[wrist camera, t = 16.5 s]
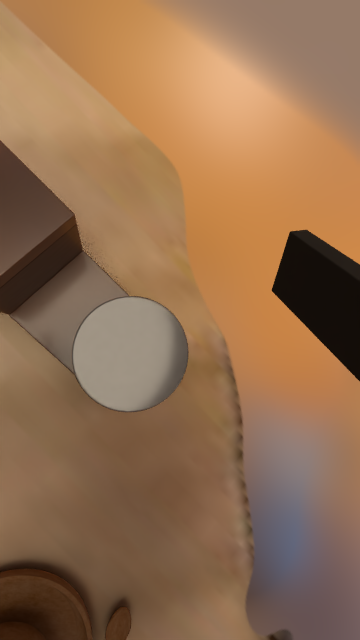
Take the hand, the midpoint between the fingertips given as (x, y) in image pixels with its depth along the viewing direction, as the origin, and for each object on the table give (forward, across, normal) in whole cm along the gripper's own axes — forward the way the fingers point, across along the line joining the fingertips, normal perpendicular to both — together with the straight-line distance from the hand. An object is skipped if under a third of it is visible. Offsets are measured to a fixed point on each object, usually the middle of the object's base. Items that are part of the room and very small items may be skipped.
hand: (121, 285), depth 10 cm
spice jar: (+7, 0, -10) cm, 12 cm away
